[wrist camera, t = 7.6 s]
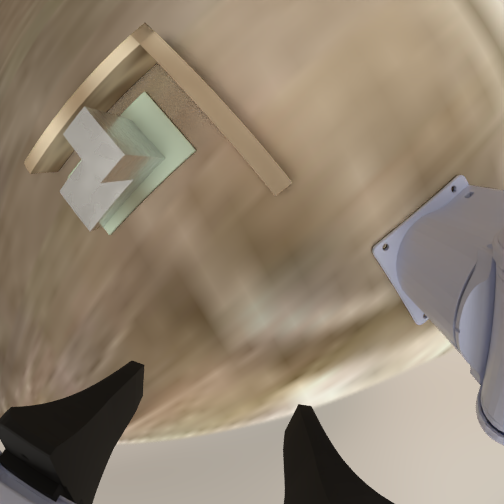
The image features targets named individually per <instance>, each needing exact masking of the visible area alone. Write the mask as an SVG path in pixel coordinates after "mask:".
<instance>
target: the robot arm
mask: <svg viewBox="0 0 504 504" xmlns="http://www.w3.org/2000/svg"><path fill="white" fill-rule="evenodd" d="M452 186H453V187H454V191H453V192H452V191H451V187H452ZM384 244H387V248H386V249H384V250H383V248H382V247H383V245H384ZM372 253H373V255H374V257H375V258H376V260H377V261H378V263H379V264H380V266H381V267H382V269H383V270H384V272H385V274H386V275H387V277H388V278H389V280H390V282H391V283H392V285H393V286H394V288H395V290H396V291H397V293H398V294H399V296H400V298H401V299H402V301H403V303H404V304H405V306H406V308H407V310H408V311H409V313H410V315H411V316H412V318H413V320H414V322H415V323H416V324H417V325H421V324H423V323H424V322H426V321H427V320H428V319H430V320H431V321H432V323H433V324H434V325H435V326H436V327H437V328H438V329H439V330H440V331H441V332H442V334H443V335H444V336H445V337H446V338H447V339H448V340H449V341H450V343H451V344H452V345H453V346H454V347H455V348H456V349H457V351H458V352H459V353H460V354H461V355H462V356H463V357H464V359H465V360H466V361H467V362H468V363H469V364H470V367H471V370H470V373H471V374H472V375H473V377H474V378H475V379H476V380H477V382H478V383H479V384H480V385H481V386H480V389H479V392H478V396H477V401H476V413H477V418H478V420H479V423H480V425H481V427H482V428H483V430H484V431H485V432H486V434H487V435H488V436H489V437H491V438H492V439H493V440H495V441H496V442H498V443H500V444H502V445H504V190H499V189H493V188H486V187H479V186H472V185H469V184H468V182H467V180H466V178H465V177H464V176H463V175H457V176H456V177H455V178H454V179H453V180H452V181H450V182H449V183H448V184H447V185H446V186H445V187H444V188H443V189H441V190H440V191H439V192H438V193H437V194H436V195H435V196H433V197H432V198H431V199H430V200H429V201H428V202H427V203H425V204H424V205H423V206H422V207H421V208H420V209H418V210H417V211H416V212H415V213H414V214H412V215H411V216H410V217H409V218H408V219H406V220H405V221H404V222H403V223H402V224H400V225H399V226H398V227H397V228H395V229H394V230H393V231H392V232H391V233H389V234H388V235H387V236H386V237H384V238H383V239H382V240H381V241H379V242H378V243H377V244H376V245H375V246H374V247H373V249H372ZM424 314H425V316H424V317H423V315H424ZM143 379H144V365H143V364H140V363H137V362H135V361H131V362H129V363H128V364H126V365H125V366H123V367H122V368H120V369H119V370H117V371H116V372H114V373H113V374H111V375H110V376H108V377H106V378H105V379H103V380H102V381H100V382H98V383H96V384H95V385H93V386H91V387H89V388H87V389H85V390H83V391H81V392H79V393H76V394H74V395H71V396H69V397H66V398H63V399H60V400H56V401H53V402H49V403H44V404H39V405H33V406H23V407H11V408H10V409H9V410H7V411H6V412H5V414H4V415H3V416H2V417H1V418H0V439H1V441H2V443H3V445H4V447H5V450H4V452H3V453H2V452H1V451H0V504H92V503H93V499H94V496H95V493H96V490H97V488H98V485H99V482H100V480H101V477H102V474H103V472H104V469H105V467H106V465H107V462H108V460H109V458H110V455H111V453H112V451H113V449H114V447H115V445H116V443H117V442H118V440H119V438H120V437H121V435H122V434H123V432H124V430H125V429H126V427H127V425H128V424H129V422H130V420H131V419H132V417H133V415H134V414H135V412H136V410H137V408H138V405H139V403H140V401H141V398H142V396H143ZM283 457H284V477H285V498H284V504H394V503H392V502H391V501H389V500H388V499H386V498H385V497H383V496H381V495H380V494H378V493H377V492H376V491H375V490H373V489H372V488H371V487H369V486H368V485H367V484H366V483H365V482H364V481H363V480H361V479H360V478H359V477H358V476H357V475H356V474H355V473H354V472H353V471H352V470H351V468H350V467H349V466H348V465H347V464H346V463H345V461H343V459H342V458H341V456H340V455H339V454H338V452H337V451H336V449H335V448H334V446H333V445H332V443H331V441H330V440H329V438H328V436H327V435H326V433H325V431H324V430H323V428H322V426H321V424H320V422H319V420H318V418H317V416H316V414H315V413H314V411H313V409H312V407H311V406H306V405H300V404H298V406H297V408H296V410H295V412H294V414H293V416H292V418H291V420H290V422H289V424H288V427H287V428H286V430H285V435H284V447H283Z"/></svg>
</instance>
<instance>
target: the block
mask: <svg viewBox="0 0 504 504" xmlns="http://www.w3.org/2000/svg"><path fill="white" fill-rule="evenodd" d="M63 135H64V136H65V138H66V139H67V140H68V142H69V143H70V145H71V146H72V147H73V148H74V150H75V151H76V152H77V154H78V155H79V156H80V158H81V159H82V161H81V162H80V163H79V165H78V166H77V167H76V169H75V170H74V171H73V173H72V174H71V176H70V177H69V178H68V180H67V181H66V183H65V184H64V186H63V187H62V189H61V190H60V193H61V194H62V195H63V197H64V198H65V200H66V201H67V202H68V204H69V205H70V206H71V208H72V209H73V210H74V212H75V213H76V214H77V216H78V217H79V218H80V219H81V221H82V222H83V223H84V225H85V226H86V227H87V228H88V230H89V231H90V232H91V231H93V230H96V229H98V228H101V227H104V226H105V225H106V224H107V222H108V221H109V220H110V219H111V218H112V216H113V215H114V214H115V213H116V212H117V210H118V209H119V208H120V207H121V206H122V205H123V203H124V202H125V201H126V200H127V199H128V198H129V197H130V195H131V194H132V193H133V192H134V191H135V190H136V189H137V188H138V187H139V186H140V184H141V183H142V182H143V181H144V180H145V179H146V178H147V177H148V176H149V175H150V174H151V173H152V172H153V171H154V169H155V168H156V167H157V166H158V165H159V164H160V163H161V162H162V161H163V160H164V159H165V157H164V156H163V155H162V154H161V152H160V151H159V150H158V149H157V148H156V147H155V146H154V145H153V144H152V142H151V141H150V140H149V139H148V138H147V137H146V136H145V135H144V134H143V132H142V131H141V130H140V129H139V128H138V127H137V126H136V125H135V123H134V122H133V121H132V120H130V119H127V118H123V117H120V116H117V115H113V114H110V113H106V112H103V111H99V110H96V109H92V108H89V107H85V106H84V107H83V109H82V110H81V111H80V112H79V114H78V115H77V116H76V117H75V119H74V120H73V121H72V123H71V124H70V125H69V127H68V128H67V129H66V131H65V132H64V133H63Z"/></svg>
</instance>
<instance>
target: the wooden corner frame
mask: <svg viewBox="0 0 504 504" xmlns="http://www.w3.org/2000/svg"><path fill="white" fill-rule="evenodd" d="M157 62H158V63H159V64H160V65H161V67H162V68H163V69H164V70H165V71H166V72H167V73H168V74H169V75H170V76H171V77H172V78H173V79H174V80H175V81H176V82H177V84H178V85H179V86H180V87H181V88H182V89H183V90H184V91H185V92H186V93H187V94H188V95H189V97H190V98H191V99H192V100H193V101H194V102H195V103H196V104H197V105H198V106H199V108H200V109H201V110H202V111H203V112H204V113H205V114H206V115H207V116H208V118H209V119H210V120H211V121H212V122H213V123H214V124H215V125H216V127H217V128H218V129H219V130H220V131H221V132H222V133H223V135H224V136H225V137H226V138H227V139H228V140H229V142H230V143H231V144H232V145H233V146H234V147H235V149H236V150H237V151H238V152H239V153H240V154H241V156H242V157H243V158H244V159H245V160H246V161H247V163H248V164H249V165H250V166H251V167H252V169H253V170H254V171H255V172H256V173H257V175H258V176H259V177H260V178H261V179H262V181H263V182H264V183H265V184H266V186H267V187H268V188H269V189H270V190H271V192H272V193H273V194H274V195H275V196H277V195H278V194H279V193H280V192H282V191H283V190H284V189H285V188H287V187H288V186H289V185H291V184H292V183H293V182H292V181H291V180H290V179H289V177H288V176H287V175H286V174H285V172H284V171H283V170H282V169H281V168H280V166H279V165H278V164H277V163H276V162H275V160H274V159H273V158H272V157H271V155H270V154H269V153H268V152H267V151H266V150H265V148H264V147H263V146H262V145H261V144H260V142H259V141H258V140H257V139H256V138H255V137H254V135H253V134H252V133H251V132H250V131H249V130H248V129H247V127H246V126H245V125H244V124H243V123H242V122H241V121H240V119H239V118H238V117H237V116H236V115H235V114H234V113H233V112H232V111H231V109H230V108H229V107H228V106H227V105H226V104H225V103H224V102H223V101H222V100H221V98H220V97H219V96H218V95H217V94H216V93H215V92H214V91H213V90H212V89H211V88H210V87H209V86H208V85H207V83H206V82H205V81H204V80H203V79H202V78H201V77H200V76H199V75H198V74H197V73H196V72H195V71H194V70H193V69H192V68H191V67H190V66H189V65H188V64H187V63H186V62H185V61H184V60H183V59H182V58H181V57H180V56H179V55H178V54H177V53H176V52H175V51H174V50H173V49H172V48H171V47H170V46H169V45H168V44H167V43H166V42H165V41H164V40H163V39H162V38H161V37H160V36H159V35H158V34H157V33H156V32H154V31H153V30H152V29H151V28H150V27H149V26H148V25H147V24H146V23H144V24H143V25H141V26H140V27H139V28H138V29H137V30H136V31H134V32H133V33H132V34H131V35H130V36H129V37H128V38H127V39H126V40H124V41H123V42H122V43H121V44H120V45H119V46H118V47H117V48H116V49H115V50H114V51H113V52H112V53H111V54H110V55H109V56H108V57H107V58H106V59H105V60H104V61H103V62H102V63H101V64H100V65H99V66H98V67H97V68H96V69H95V70H94V71H93V72H92V73H91V75H90V76H89V77H88V78H87V79H86V80H85V81H84V82H83V83H82V85H81V86H80V87H79V88H78V89H77V90H76V92H75V93H74V94H73V95H72V96H71V98H70V99H69V100H68V101H67V102H66V104H65V105H64V106H63V107H62V109H61V110H60V111H59V113H58V114H57V115H56V117H55V118H54V119H53V121H52V122H51V123H50V125H49V126H48V127H47V129H46V130H45V132H44V133H43V134H42V136H41V137H40V139H39V140H38V142H37V143H36V145H35V146H34V148H33V149H32V151H31V152H30V154H29V155H28V157H27V159H26V160H25V162H24V164H25V166H26V167H27V169H28V171H29V173H30V174H35V173H46V172H58V171H59V170H60V168H61V167H62V166H63V164H64V163H65V162H66V160H67V159H68V158H69V156H70V155H71V154H72V153H73V151H74V148H73V147H72V146H71V145H70V143H69V142H68V140H67V139H66V138H65V136H64V135H63V133H64V132H65V131H66V129H67V128H68V127H69V125H70V124H71V123H72V121H73V120H74V119H75V117H76V116H77V115H78V114H79V112H80V111H81V110H82V109H83V107H84V106H85V107H89V108H92V109H96V110H99V111H103V112H107V111H108V110H109V109H110V108H111V107H112V106H113V105H114V104H115V103H116V102H117V101H118V100H119V99H120V98H121V97H122V95H123V94H124V93H125V92H126V91H127V90H128V89H129V88H130V87H132V86H133V85H134V84H135V83H136V82H137V81H138V80H139V79H140V78H141V77H142V76H143V75H144V74H145V73H146V72H147V71H148V70H150V69H151V68H152V67H153V66H154V65H155V64H156V63H157ZM120 117H123V118H127V119H130V120H132V121H133V122H134V123H135V125H136V126H137V127H138V128H139V129H140V130H141V131H142V132H143V134H144V135H145V136H146V137H147V138H148V139H149V140H150V141H151V142H152V144H153V145H154V146H155V147H156V148H157V149H158V150H159V151H160V152H161V154H162V155H163V156H164V157H165V159H164V160H163V161H162V162H161V163H160V164H159V165H158V166H157V167H156V168H155V169H154V171H153V172H152V173H151V174H150V175H149V176H148V177H147V178H146V179H145V180H144V181H143V182H142V183H141V184H140V186H139V187H138V188H137V189H136V190H135V191H134V192H133V193H132V194H131V195H130V197H129V198H128V199H127V200H126V201H125V202H124V203H123V205H122V206H121V207H120V208H119V209H118V210H117V212H116V213H115V214H114V215H113V216H112V218H111V219H110V220H109V221H108V222H107V224H106V225H105V226H104V229H105V230H106V231H107V233H108V234H109V235H111V234H112V233H113V232H114V231H115V230H116V229H117V227H118V226H119V225H120V224H121V223H122V222H123V221H124V220H125V219H126V218H127V217H128V216H129V215H130V214H131V213H132V212H133V211H134V210H135V209H136V208H137V207H138V206H139V205H140V204H141V203H142V202H143V201H144V200H145V199H146V198H147V197H148V196H149V195H150V194H151V193H152V192H153V191H154V190H155V189H156V188H157V187H158V186H159V185H160V184H161V183H162V182H163V181H164V180H165V179H166V178H167V177H168V176H169V175H170V174H171V173H172V172H174V171H175V170H176V169H177V168H178V167H179V166H180V165H181V164H182V163H183V162H184V161H186V160H187V159H188V158H189V157H190V156H191V155H192V154H193V153H194V152H196V151H197V150H196V149H195V148H194V147H193V146H192V145H191V143H190V142H189V141H188V140H187V139H186V138H185V136H184V135H183V134H182V133H181V132H180V131H179V129H178V128H177V127H176V126H175V125H174V124H173V122H172V121H171V120H170V119H169V118H168V117H167V116H166V114H165V113H164V112H163V111H162V110H161V109H160V107H159V106H158V105H157V104H156V103H155V102H154V101H153V99H152V98H151V97H150V96H149V95H148V94H147V93H146V92H145V91H144V92H143V93H142V94H141V95H140V96H139V97H138V98H137V99H136V100H135V101H134V102H133V103H132V104H131V105H130V106H129V107H128V108H127V109H126V110H125V111H124V112H123V113H122V114H121V115H120ZM81 161H82V160H81ZM81 161H80V162H81ZM80 162H79V163H80ZM79 163H78V165H79ZM78 165H77V166H78ZM77 166H76V167H77ZM76 167H75V168H74V170H75V169H76ZM74 170H73V171H74ZM73 171H72V172H71V174H72V173H73ZM71 174H70V175H69V176H68V178H69V177H70V176H71Z"/></svg>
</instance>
